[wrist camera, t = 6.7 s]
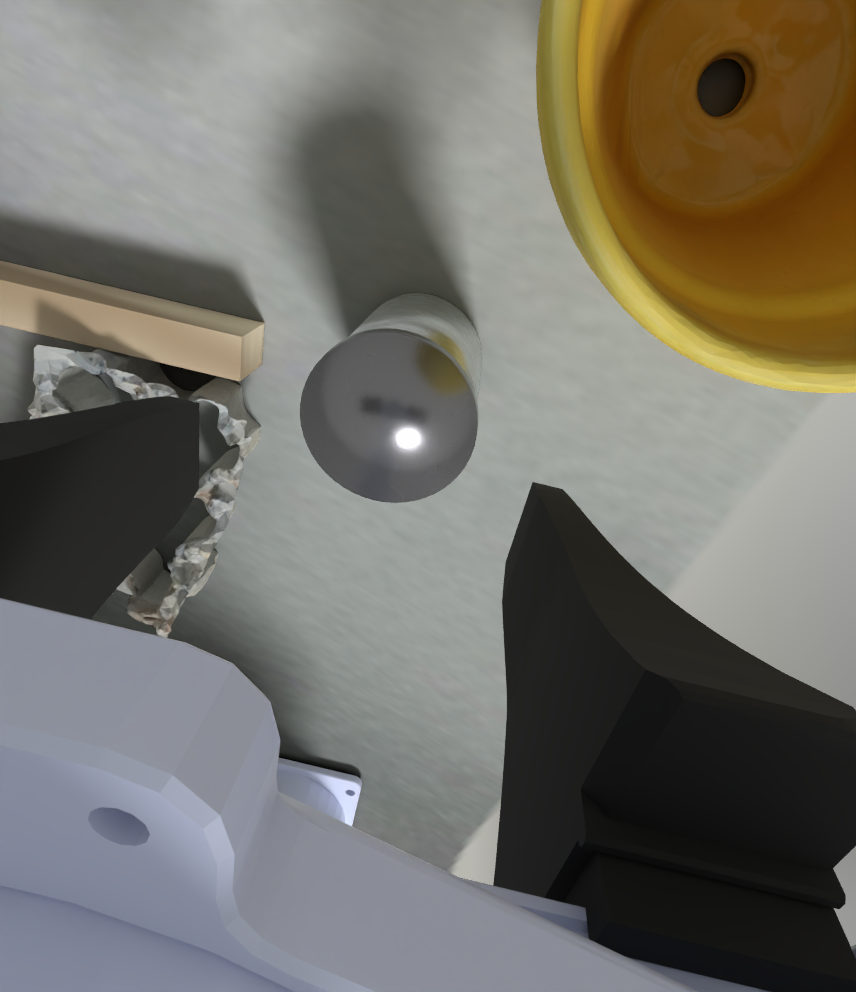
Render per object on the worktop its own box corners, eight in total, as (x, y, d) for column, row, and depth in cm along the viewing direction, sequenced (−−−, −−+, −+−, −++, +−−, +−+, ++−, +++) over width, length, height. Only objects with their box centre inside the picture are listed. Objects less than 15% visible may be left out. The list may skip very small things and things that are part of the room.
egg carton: (209, 592, 27) (164, 656, 23) (52, 518, 26) (-19, 573, 22) (291, 404, 22) (249, 449, 18) (100, 302, 21) (16, 330, 17)
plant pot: (457, 190, 18) (412, 205, 9) (681, -291, 13) (1039, -1241, 4) (738, 352, 19) (928, 498, 10) (1041, -26, 14) (1875, -337, 5)
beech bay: (241, 706, 30) (224, 739, 28) (-13, 646, 30) (-45, 675, 28) (264, 323, 20) (241, 336, 18) (-113, 233, 20) (-171, 239, 19)
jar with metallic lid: (467, 434, 21) (454, 519, 16) (345, 404, 21) (292, 480, 16) (500, 307, 19) (498, 359, 14) (364, 275, 19) (309, 313, 14)
